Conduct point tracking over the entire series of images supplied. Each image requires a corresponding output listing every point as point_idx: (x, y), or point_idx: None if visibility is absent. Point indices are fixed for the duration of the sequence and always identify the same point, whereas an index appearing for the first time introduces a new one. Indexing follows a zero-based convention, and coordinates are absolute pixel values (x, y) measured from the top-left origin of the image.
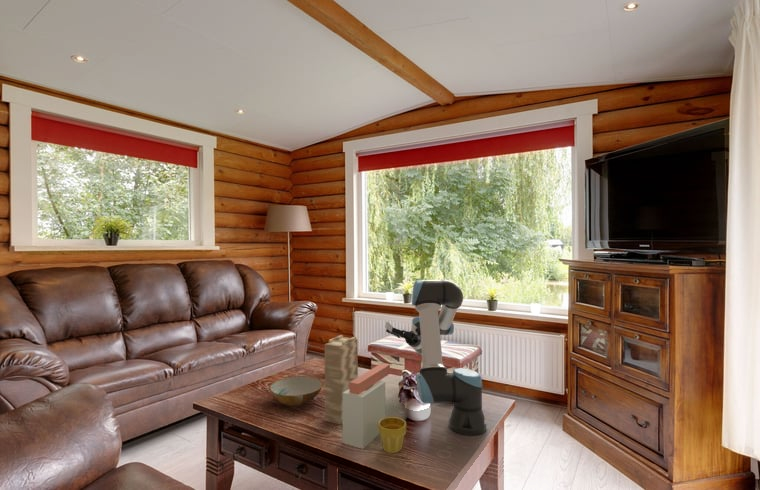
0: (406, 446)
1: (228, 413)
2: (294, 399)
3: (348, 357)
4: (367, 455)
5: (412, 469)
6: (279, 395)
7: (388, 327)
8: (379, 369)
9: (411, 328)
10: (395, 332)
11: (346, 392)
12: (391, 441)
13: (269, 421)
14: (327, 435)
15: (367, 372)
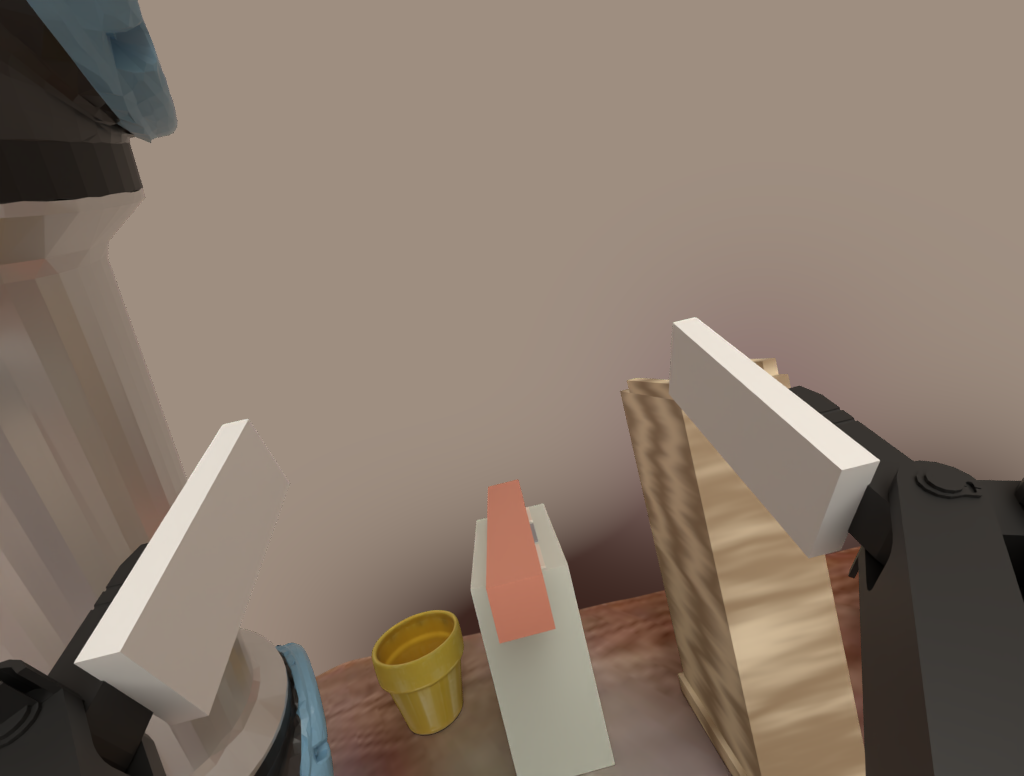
0: (395, 749)
1: None
2: None
3: (658, 465)
4: (484, 653)
5: (357, 685)
6: None
7: (706, 417)
8: (496, 540)
9: (279, 468)
10: (868, 679)
11: (535, 507)
12: (417, 655)
13: (844, 572)
14: (644, 635)
15: (520, 512)
